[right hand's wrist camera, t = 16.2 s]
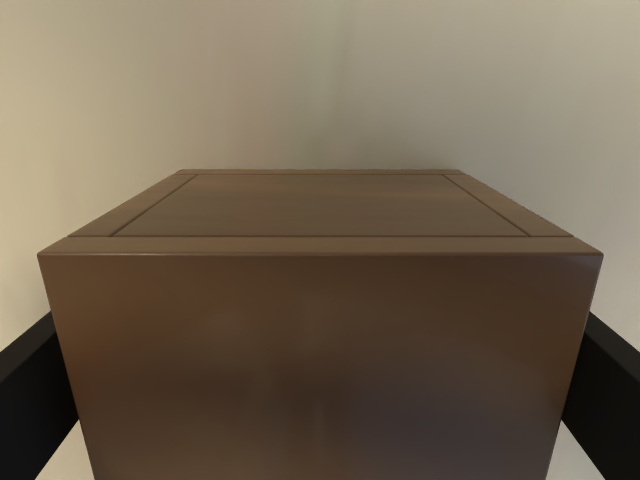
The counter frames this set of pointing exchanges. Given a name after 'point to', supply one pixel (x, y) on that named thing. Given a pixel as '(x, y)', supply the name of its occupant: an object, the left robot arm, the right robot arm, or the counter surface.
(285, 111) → the counter surface
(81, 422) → the cabinet
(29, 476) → the right robot arm
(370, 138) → the counter surface
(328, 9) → the counter surface
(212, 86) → the counter surface
